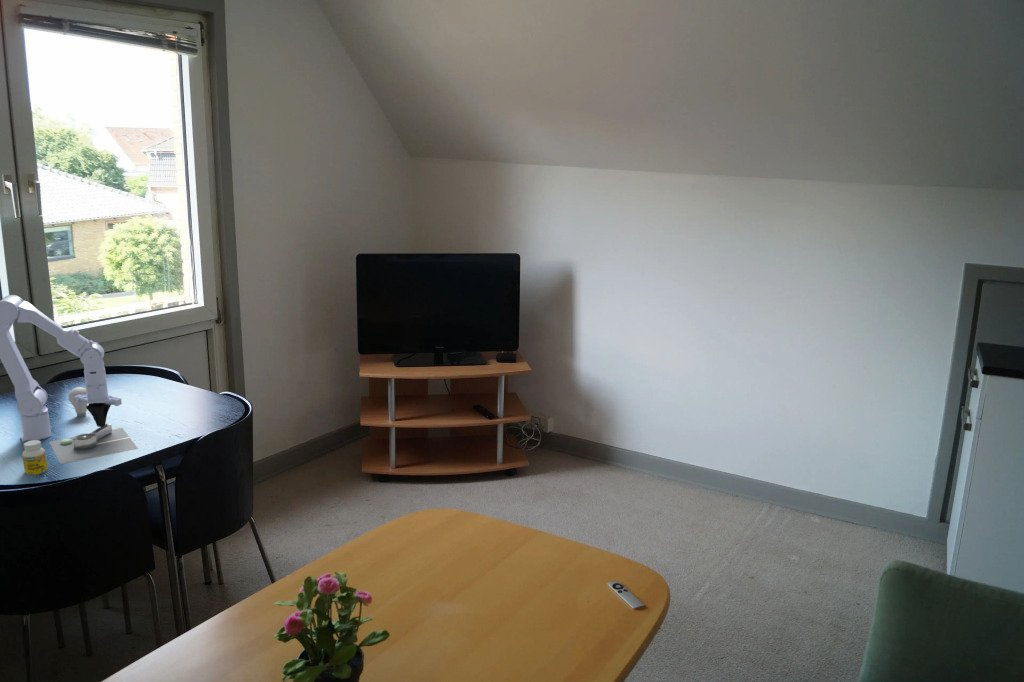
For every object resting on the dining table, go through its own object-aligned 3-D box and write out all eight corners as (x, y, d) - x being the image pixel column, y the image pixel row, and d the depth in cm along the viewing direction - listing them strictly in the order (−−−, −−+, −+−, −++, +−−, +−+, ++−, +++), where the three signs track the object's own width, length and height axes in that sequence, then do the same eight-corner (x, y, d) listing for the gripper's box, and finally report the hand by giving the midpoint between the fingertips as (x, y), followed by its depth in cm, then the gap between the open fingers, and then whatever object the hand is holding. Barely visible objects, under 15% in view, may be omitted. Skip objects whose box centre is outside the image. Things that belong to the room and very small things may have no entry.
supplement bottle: (47, 470, 219) (43, 437, 217) (49, 477, 215) (44, 444, 213) (25, 474, 217) (20, 441, 214) (26, 481, 212) (21, 448, 210)
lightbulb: (95, 419, 257) (91, 387, 254) (75, 424, 253) (71, 391, 250) (88, 415, 261) (84, 383, 258) (68, 419, 257) (64, 387, 254)
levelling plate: (49, 446, 235) (48, 439, 235) (122, 432, 247) (121, 425, 247) (61, 469, 220) (60, 461, 220) (138, 453, 232) (137, 445, 231)
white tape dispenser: (88, 450, 229) (87, 440, 228) (69, 449, 230) (68, 439, 229) (118, 432, 243) (117, 423, 242) (100, 431, 244) (99, 421, 243)
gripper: (65, 385, 238) (71, 428, 242) (108, 389, 236) (113, 432, 239) (82, 378, 245) (87, 420, 249) (124, 382, 243) (128, 424, 246)
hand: (101, 425), depth 244 cm, fingers closed
